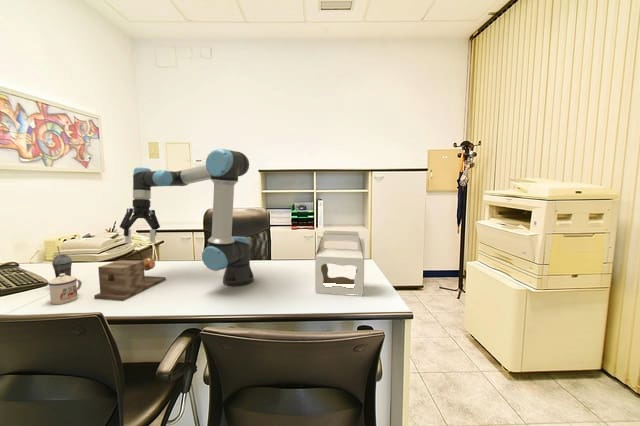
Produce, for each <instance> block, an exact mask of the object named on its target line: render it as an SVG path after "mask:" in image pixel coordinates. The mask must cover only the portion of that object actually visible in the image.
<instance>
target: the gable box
mask: <svg viewBox="0 0 640 426" xmlns="http://www.w3.org/2000/svg"><path fill="white" fill-rule="evenodd" d="M328 241H329V242H331V241H332V242H350V243H351V242H353V243H357V249H350V248H349V249H348V248H325V242H328ZM316 245H317V247H316V248H317V251H316V253H315V256H314V259H315V260H314V262H315V264H314V265H315V267H314V274H315V275H314V276H315V277H314V281H315V282H314V293H315V292H316V294H321V293H334V294H333V295H336V294H356V295H357V294H358V295H363V296H364V289H363V288H364V286H365V284H364V283H365V250H366V249H365V239H364V238H361V237H360V234H359V231H349V230H347V231H343V230H325V231H323V233H322V236H321V237H320V236H318V238H317V244H316ZM328 264H331V265H332V264H333V265H336V266H343V267H344V266H352V267H355V268H356V269H355V276H354V278H353V279H352V278H349V277H345V276H335V277H330V276H329V274H328V273H329V268H328ZM323 283H336V284H355V286H354V288H346V287H342V286H332V287H325V286H324V285H323Z"/></svg>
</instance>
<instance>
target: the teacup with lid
mask: <svg viewBox="0 0 640 426" xmlns="http://www.w3.org/2000/svg"><path fill="white" fill-rule="evenodd" d="M77 282H78V285H77ZM47 283H48V286H49V296H50V297H49V298H50V303H51V304H52V305H64V304H68V303H71V302H75V301H76V300H77V299H78V298H79V297H78V291H79V290H80V289H81V287H82V284H83V283H82V281H81V280H80V279H77V277H76V276H73V275H71V276H68V275H65V273H62V274H59V277H56V276H55V278H54V279H51V280H49V281H48V282H47Z"/></svg>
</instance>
